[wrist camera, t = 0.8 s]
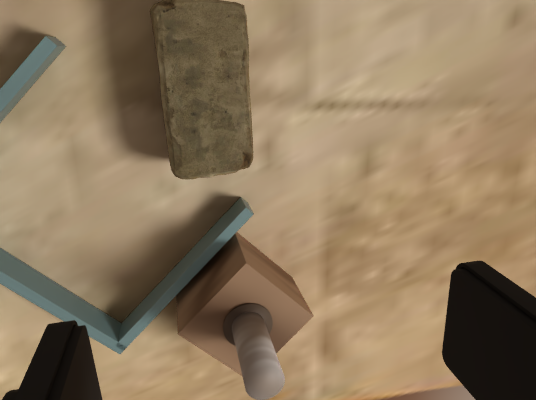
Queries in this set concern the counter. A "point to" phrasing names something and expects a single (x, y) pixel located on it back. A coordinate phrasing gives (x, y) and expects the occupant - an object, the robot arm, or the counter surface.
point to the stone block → (204, 85)
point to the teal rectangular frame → (65, 302)
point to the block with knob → (243, 314)
